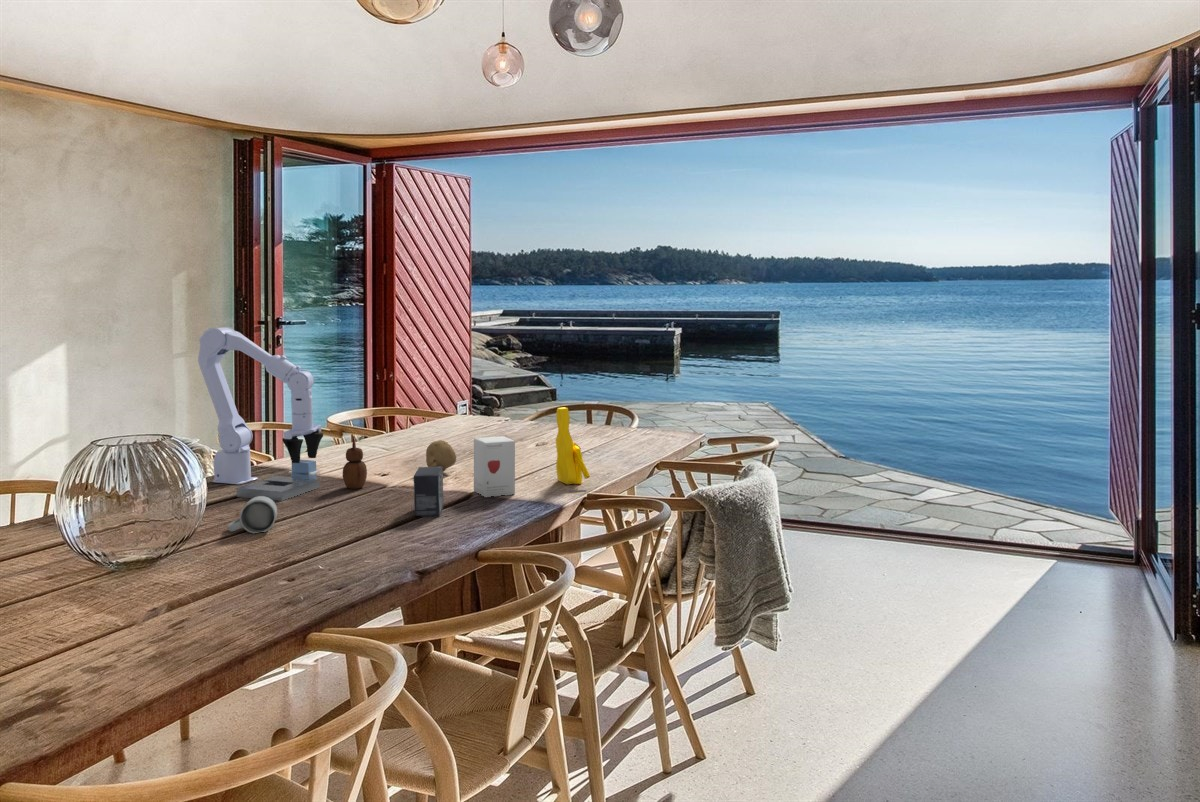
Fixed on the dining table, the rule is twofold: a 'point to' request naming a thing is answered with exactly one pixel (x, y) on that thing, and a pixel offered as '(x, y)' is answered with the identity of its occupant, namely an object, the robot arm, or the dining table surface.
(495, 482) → the supplement box
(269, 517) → the ceramic mug
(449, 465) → the natural sponge
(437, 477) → the small box
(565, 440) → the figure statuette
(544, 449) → the dining table surface
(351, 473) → the wooden figurine
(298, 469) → the block
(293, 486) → the plate
